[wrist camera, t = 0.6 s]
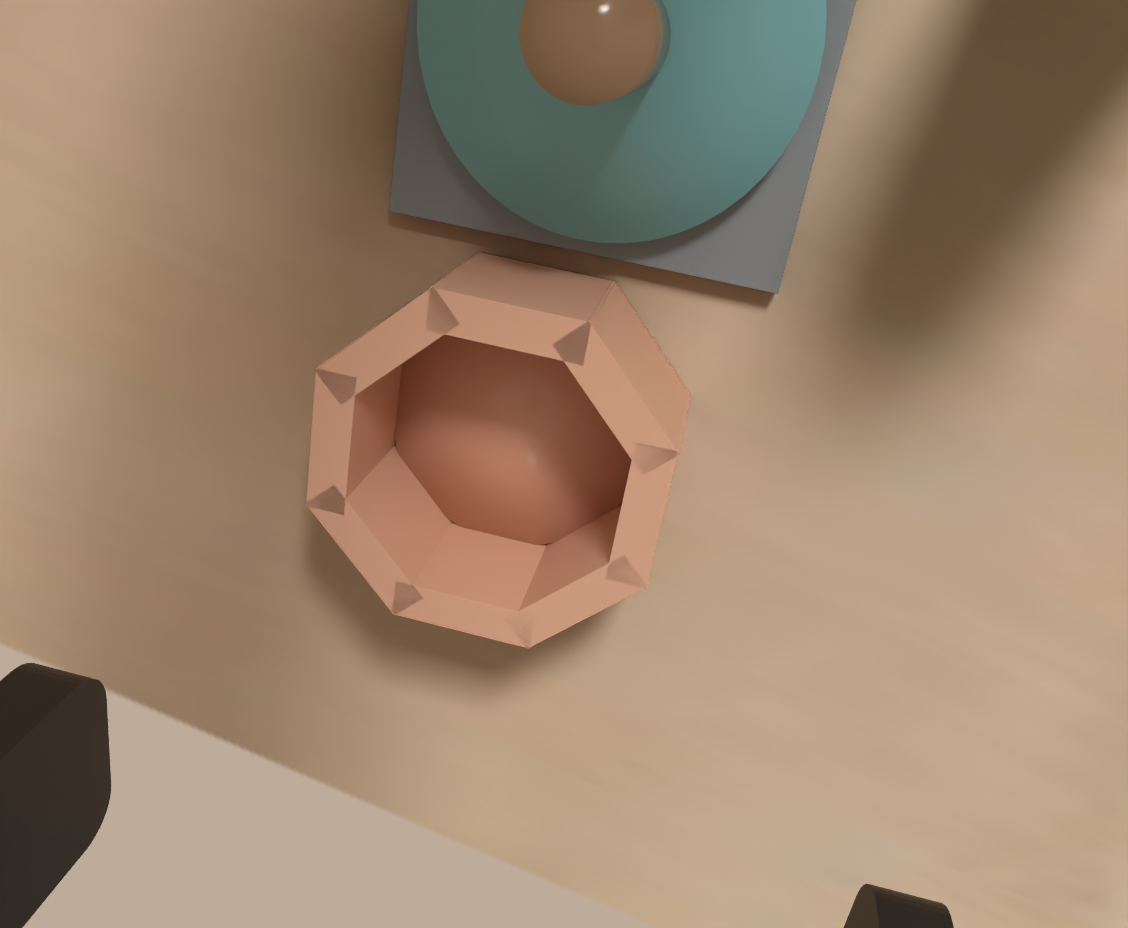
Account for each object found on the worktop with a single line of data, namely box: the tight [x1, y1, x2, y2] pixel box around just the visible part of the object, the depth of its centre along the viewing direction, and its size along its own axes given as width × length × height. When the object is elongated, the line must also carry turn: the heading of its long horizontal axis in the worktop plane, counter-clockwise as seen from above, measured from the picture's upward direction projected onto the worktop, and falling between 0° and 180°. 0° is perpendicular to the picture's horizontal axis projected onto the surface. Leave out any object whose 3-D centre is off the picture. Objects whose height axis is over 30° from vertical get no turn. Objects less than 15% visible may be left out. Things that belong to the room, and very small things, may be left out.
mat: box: [389, 0, 856, 294], centre depth 27 cm, size 12×12×1 cm
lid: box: [417, 0, 827, 243], centre depth 25 cm, size 11×11×6 cm
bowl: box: [305, 252, 691, 649], centre depth 30 cm, size 10×10×5 cm
